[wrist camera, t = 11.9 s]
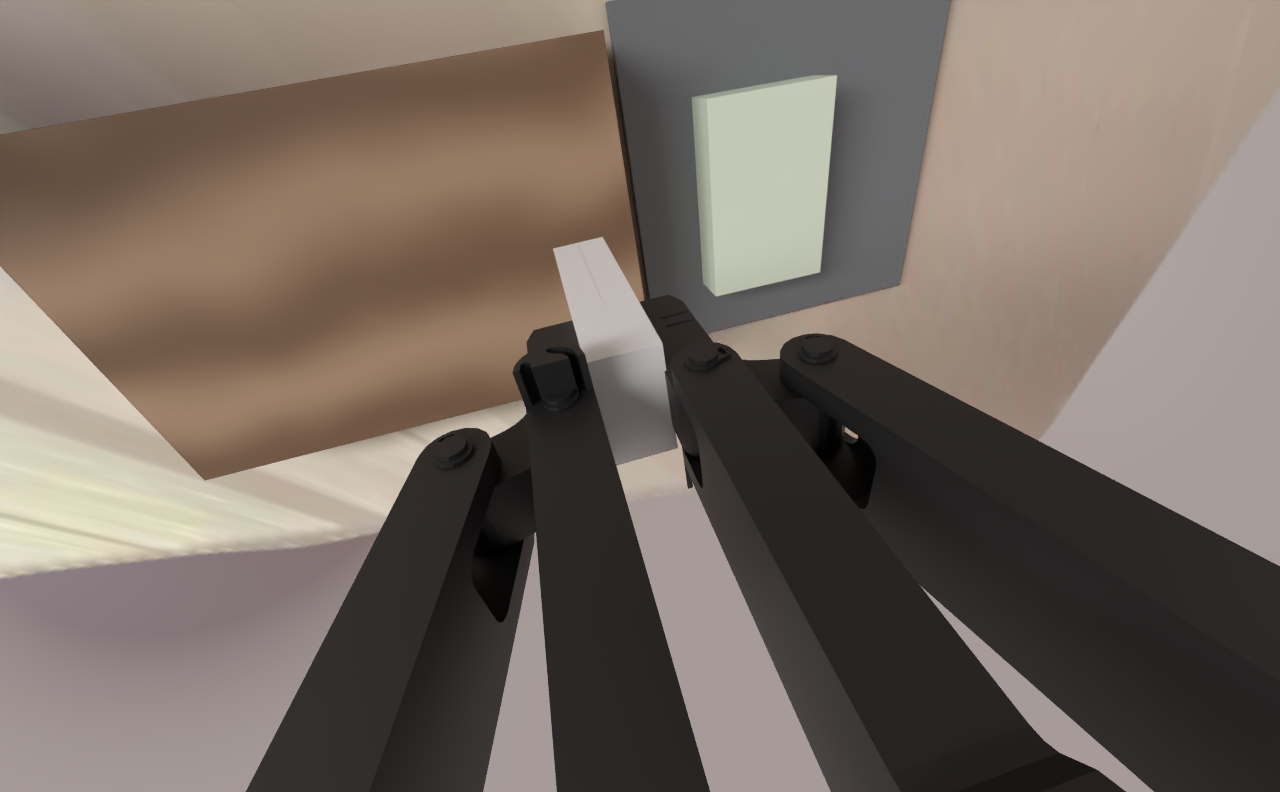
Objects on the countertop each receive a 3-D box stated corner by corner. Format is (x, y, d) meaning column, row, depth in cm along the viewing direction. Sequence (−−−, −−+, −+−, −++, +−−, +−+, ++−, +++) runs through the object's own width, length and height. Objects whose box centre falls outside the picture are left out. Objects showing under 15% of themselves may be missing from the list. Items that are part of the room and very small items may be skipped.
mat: (605, 2, 20) (607, 1, 19) (953, -56, 21) (960, -58, 21) (655, 342, 29) (656, 345, 29) (895, 282, 31) (899, 284, 30)
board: (4, 138, 18) (-108, 153, 14) (586, 37, 20) (603, 30, 17) (241, 429, 26) (204, 480, 23) (636, 332, 28) (654, 365, 25)
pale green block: (837, 75, 21) (812, 75, 23) (706, 98, 20) (691, 96, 22) (819, 272, 26) (801, 260, 28) (715, 296, 25) (703, 283, 27)
